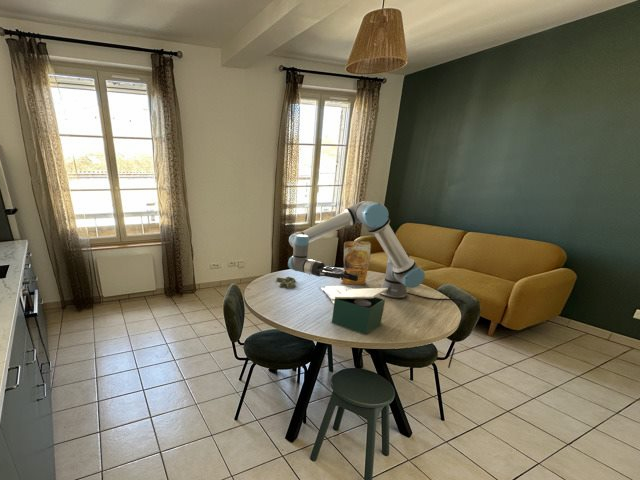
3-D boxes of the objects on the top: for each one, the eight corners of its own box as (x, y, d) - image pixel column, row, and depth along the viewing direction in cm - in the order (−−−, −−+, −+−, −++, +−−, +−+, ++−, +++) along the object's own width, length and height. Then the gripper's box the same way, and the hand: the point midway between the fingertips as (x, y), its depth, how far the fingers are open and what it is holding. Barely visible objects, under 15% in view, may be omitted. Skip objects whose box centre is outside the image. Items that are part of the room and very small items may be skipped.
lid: (388, 289, 155) (387, 287, 155) (372, 298, 144) (372, 296, 144) (351, 290, 168) (351, 288, 168) (334, 298, 158) (334, 296, 157)
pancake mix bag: (337, 281, 223) (342, 240, 212) (364, 281, 224) (371, 240, 213) (340, 284, 216) (346, 242, 206) (368, 284, 217) (375, 242, 207)
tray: (350, 287, 212) (351, 281, 210) (369, 305, 186) (370, 299, 185) (319, 287, 211) (320, 282, 209) (333, 306, 185) (334, 300, 183)
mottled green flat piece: (275, 279, 225) (276, 276, 225) (293, 279, 226) (293, 276, 225) (280, 288, 209) (280, 285, 208) (298, 288, 209) (298, 285, 208)
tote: (380, 323, 162) (385, 299, 157) (365, 334, 151) (370, 309, 146) (347, 313, 173) (351, 290, 169) (331, 322, 162) (334, 298, 158)
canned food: (366, 327, 156) (369, 306, 152) (349, 323, 160) (352, 302, 156) (369, 321, 162) (373, 301, 158) (353, 317, 166) (356, 297, 162)
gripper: (320, 272, 177) (362, 282, 161) (307, 277, 168) (349, 288, 153) (322, 258, 174) (364, 268, 158) (308, 263, 165) (351, 273, 150)
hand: (357, 278), depth 156 cm, fingers closed
